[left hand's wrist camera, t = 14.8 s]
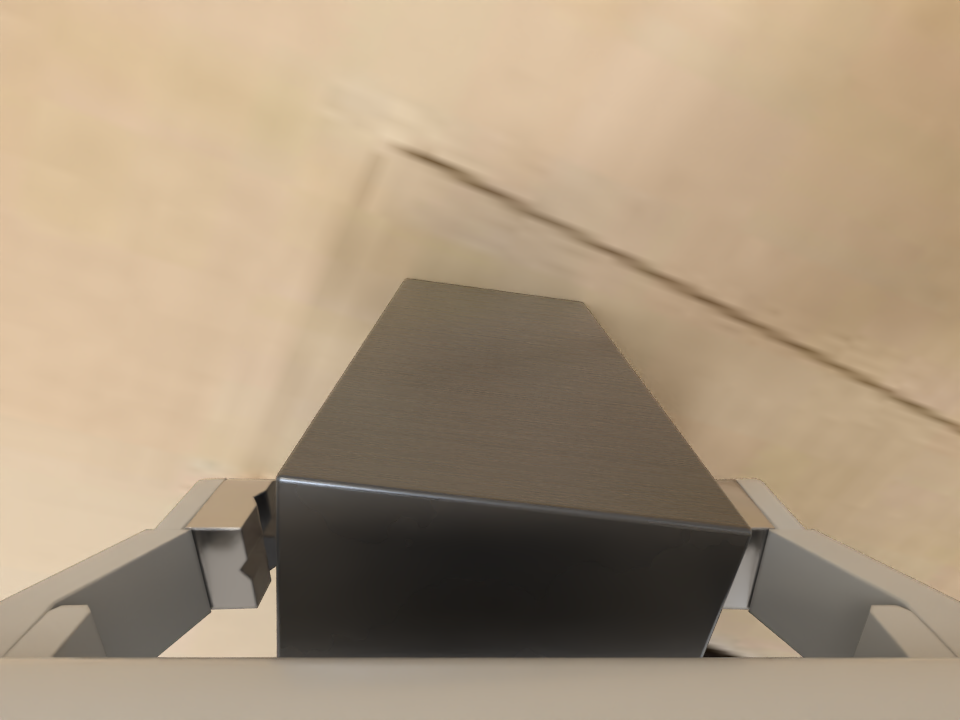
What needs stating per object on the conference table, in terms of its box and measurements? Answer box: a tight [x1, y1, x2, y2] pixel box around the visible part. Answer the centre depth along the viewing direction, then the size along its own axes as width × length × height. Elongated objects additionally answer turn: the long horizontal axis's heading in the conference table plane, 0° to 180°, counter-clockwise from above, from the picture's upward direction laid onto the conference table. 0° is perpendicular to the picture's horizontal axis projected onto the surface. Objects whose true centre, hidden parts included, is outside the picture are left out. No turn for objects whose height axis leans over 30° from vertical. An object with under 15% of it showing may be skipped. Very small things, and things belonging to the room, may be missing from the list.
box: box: [276, 279, 752, 658], centre depth 16 cm, size 23×6×11 cm, turn 172°
